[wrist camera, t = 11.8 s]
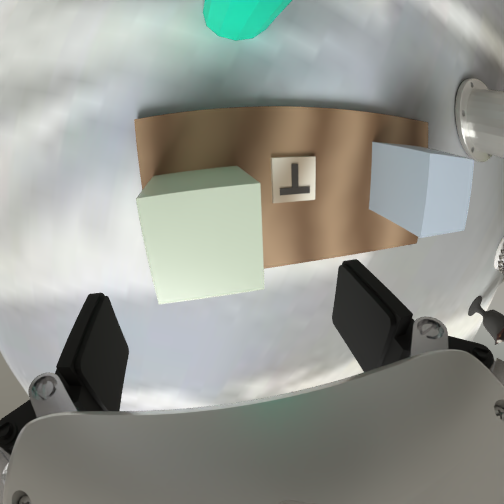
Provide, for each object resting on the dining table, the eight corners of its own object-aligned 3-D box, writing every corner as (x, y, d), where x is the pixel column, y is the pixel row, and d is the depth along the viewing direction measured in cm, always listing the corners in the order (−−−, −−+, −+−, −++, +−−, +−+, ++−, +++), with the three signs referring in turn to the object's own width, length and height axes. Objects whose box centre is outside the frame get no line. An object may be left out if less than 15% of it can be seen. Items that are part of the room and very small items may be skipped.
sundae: (483, 302, 45) (525, 339, 32) (466, 323, 46) (507, 363, 33) (483, 286, 42) (530, 324, 29) (464, 309, 43) (511, 351, 30)
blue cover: (419, 146, 25) (474, 159, 18) (414, 205, 28) (464, 230, 21) (372, 141, 24) (430, 153, 17) (368, 208, 27) (420, 237, 20)
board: (422, 121, 25) (431, 122, 24) (411, 240, 31) (419, 244, 30) (136, 120, 20) (133, 119, 19) (161, 278, 26) (160, 286, 25)
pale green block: (237, 165, 23) (260, 183, 15) (242, 242, 26) (264, 289, 18) (153, 175, 21) (136, 198, 14) (165, 253, 24) (159, 304, 17)
